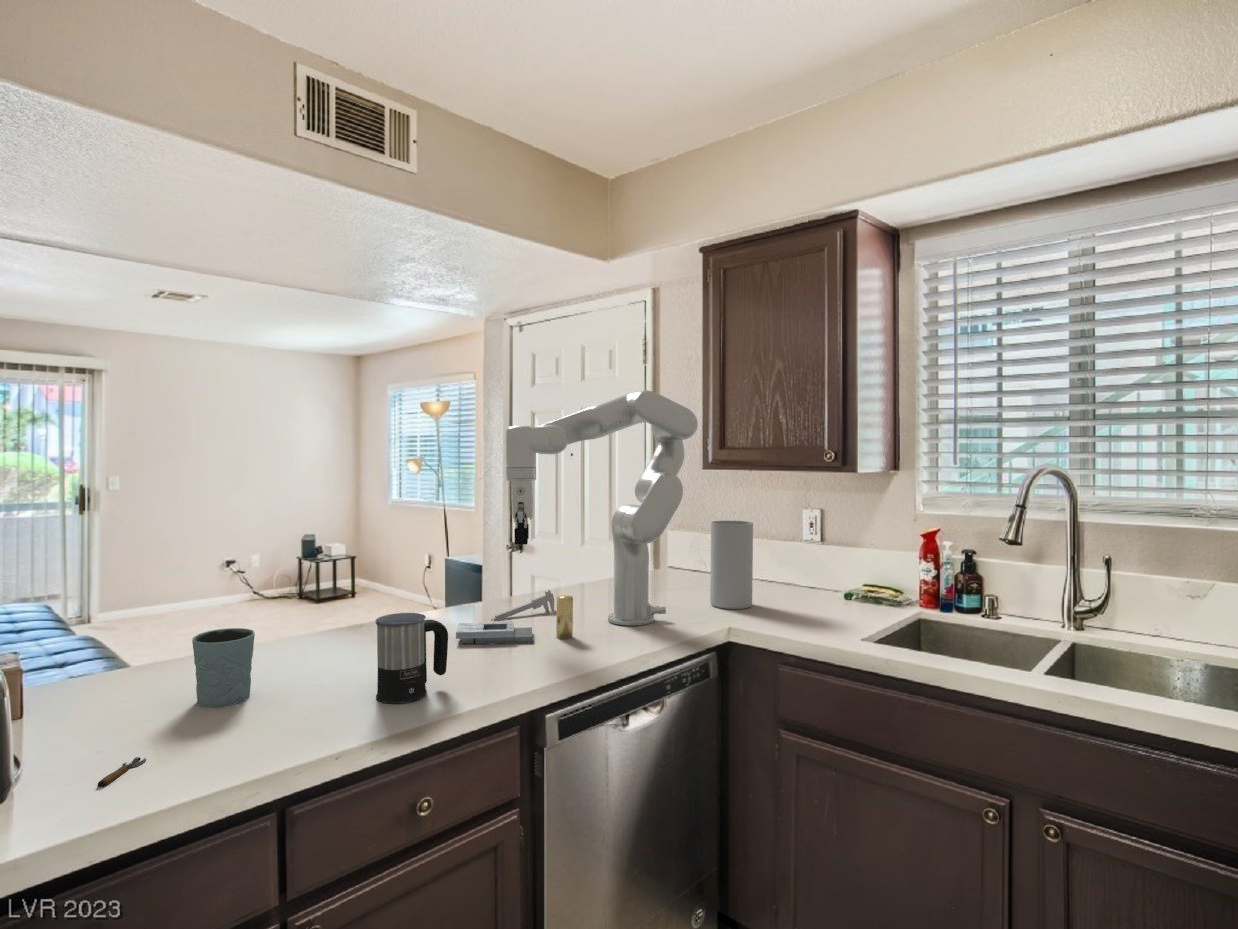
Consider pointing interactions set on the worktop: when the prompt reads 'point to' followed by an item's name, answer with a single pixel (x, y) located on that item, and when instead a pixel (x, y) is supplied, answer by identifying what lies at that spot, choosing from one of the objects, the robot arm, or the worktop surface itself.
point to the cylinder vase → (731, 564)
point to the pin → (564, 617)
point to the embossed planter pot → (223, 666)
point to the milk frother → (407, 656)
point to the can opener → (120, 772)
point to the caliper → (530, 606)
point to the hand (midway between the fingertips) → (521, 541)
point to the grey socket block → (493, 633)
